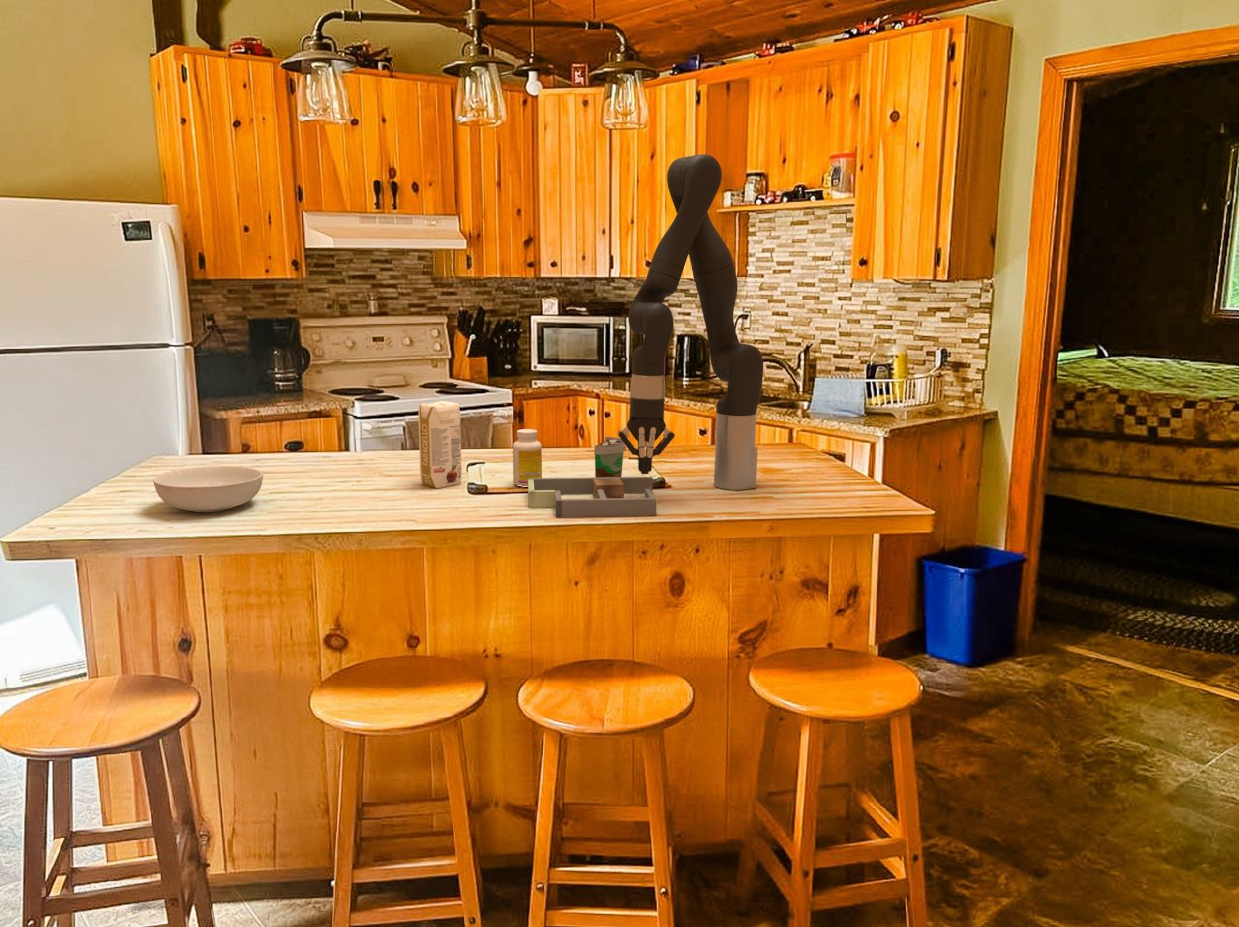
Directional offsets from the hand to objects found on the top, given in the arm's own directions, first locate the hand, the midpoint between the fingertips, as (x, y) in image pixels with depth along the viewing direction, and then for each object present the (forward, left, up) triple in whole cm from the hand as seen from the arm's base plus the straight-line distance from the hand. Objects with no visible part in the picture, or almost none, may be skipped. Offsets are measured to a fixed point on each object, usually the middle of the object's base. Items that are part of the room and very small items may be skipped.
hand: (644, 473), depth 209 cm
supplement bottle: (+25, -14, -6) cm, 30 cm away
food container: (+5, -15, -6) cm, 17 cm away
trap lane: (+11, +4, -6) cm, 13 cm away
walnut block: (+8, 0, -6) cm, 10 cm away
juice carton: (+45, -16, -6) cm, 49 cm away
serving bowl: (+91, +2, -6) cm, 92 cm away
